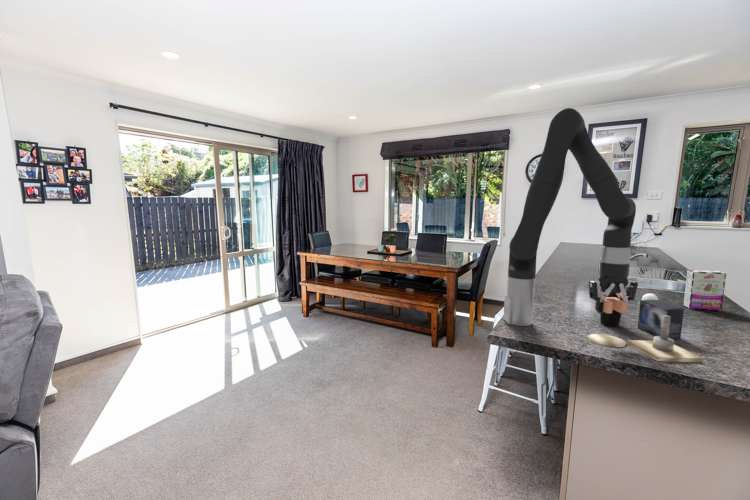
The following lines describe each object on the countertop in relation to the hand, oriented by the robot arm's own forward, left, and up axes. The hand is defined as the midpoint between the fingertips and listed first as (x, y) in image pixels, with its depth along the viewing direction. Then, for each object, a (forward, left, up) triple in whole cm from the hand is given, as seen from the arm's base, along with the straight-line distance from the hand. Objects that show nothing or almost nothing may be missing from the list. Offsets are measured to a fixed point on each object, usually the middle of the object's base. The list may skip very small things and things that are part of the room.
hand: (610, 312), depth 106 cm
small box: (+22, +8, -10) cm, 25 cm away
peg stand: (+11, -8, -9) cm, 16 cm away
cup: (+11, +16, -10) cm, 21 cm away
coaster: (0, 0, -9) cm, 9 cm away
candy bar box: (+63, +38, -10) cm, 74 cm away
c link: (0, 0, +1) cm, 1 cm away
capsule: (+36, +31, -10) cm, 48 cm away
